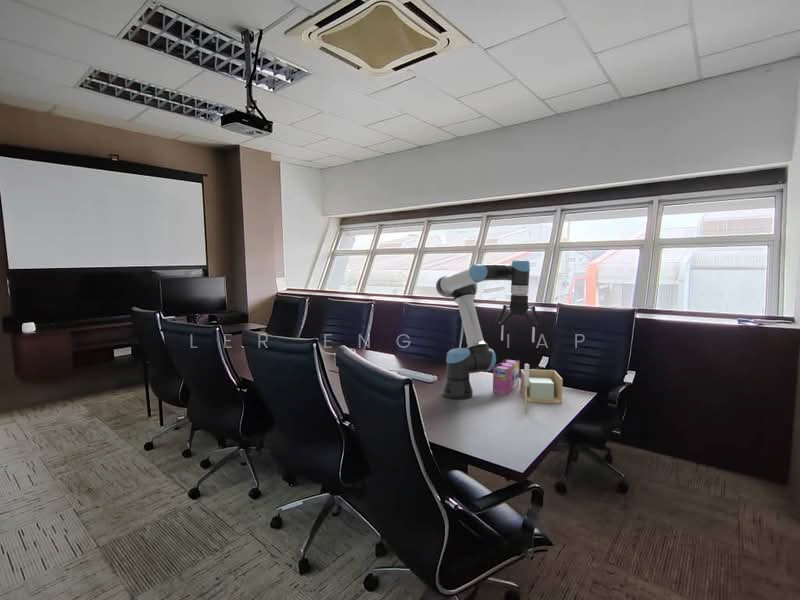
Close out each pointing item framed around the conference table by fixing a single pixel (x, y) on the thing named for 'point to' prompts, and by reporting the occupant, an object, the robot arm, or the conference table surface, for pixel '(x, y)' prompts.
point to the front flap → (526, 383)
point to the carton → (542, 386)
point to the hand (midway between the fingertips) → (517, 341)
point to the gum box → (505, 376)
